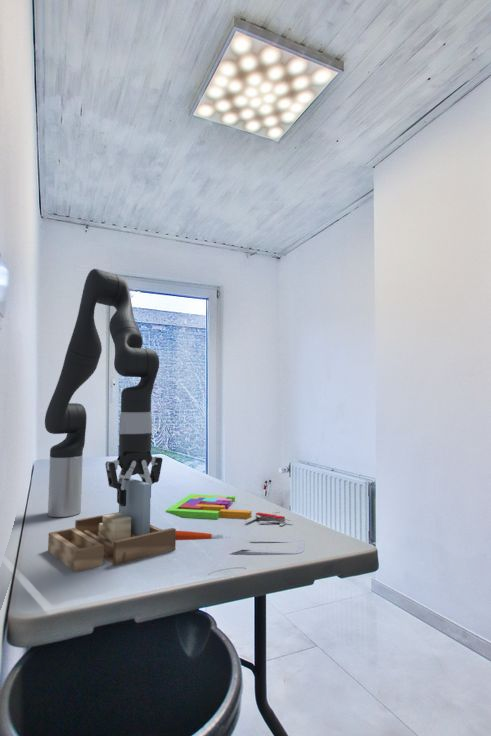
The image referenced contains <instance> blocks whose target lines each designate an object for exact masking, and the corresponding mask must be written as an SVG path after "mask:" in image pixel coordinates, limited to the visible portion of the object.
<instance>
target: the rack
mask: <svg viewBox="0 0 491 736" xmlns="http://www.w3.org/2000/svg"><path fill="white" fill-rule="evenodd" d="M114 513H115V512H112V513H111V514H114ZM116 513H119V511H118V512H116ZM108 514H109V513H108ZM108 514H105V515H108ZM103 515H104V514H102V515H97V516H96V515H95V516H92V517H91V516H90V517H85V518H84V517H83V518H79V519H75V522H74V525H75V527H74V528H76V529H77V530H79V531H81V532H82V533H84V534H86V535H87V536H89V537H91V538H92V539H94V540H96V541H98V542H99V543H101V544H103V545H104V556H103V559H105V560H106V561H108V562H109V563H110V564H112V565H114V566H119V565H122V564H127V563H130V562H134V561H137V560H138V561H139V560H141V559H145V558H149V557H153V556H156V555H160V554H164V553H167V552H171V551H175V550H176V541H177V540H176V531H177V530H176V528H174V527H170V528H166V529H161V528H159V527H157V526H155V525H152V524H150V533H148V534H143V535H139V536H136V535H134V534H132V533H131V537H130V538H126V539H121V540H117V541H114V545H112V544H110V543H109V542H107V541H105V540H103V539H102V538H100V537H98V533H99V523H103Z"/></svg>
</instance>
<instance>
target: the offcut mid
mask: <svg viewBox="0 0 491 736" xmlns="http://www.w3.org/2000/svg"><path fill="white" fill-rule="evenodd" d="M102 524H103V523H99V534H101V535H103V536H104V537H106V538H108V539H110V540H112V541H113V542H114V541H117V540H121V539H126V538H130V537H131V528H127V529H122V530H118V531H112V530H110V529H109V528H107V527H105V526H103V525H102Z"/></svg>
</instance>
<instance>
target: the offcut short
mask: <svg viewBox="0 0 491 736" xmlns="http://www.w3.org/2000/svg"><path fill="white" fill-rule="evenodd" d="M113 513H114V514H112V513H108V515H106V514H102V515H103V524H102V525H103V526H105V527H107V528H109V529H110V530H112V531H118V530H122V529H127V528H131V517H128V516H126V515H124V514H121V513H117V512H113Z"/></svg>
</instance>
